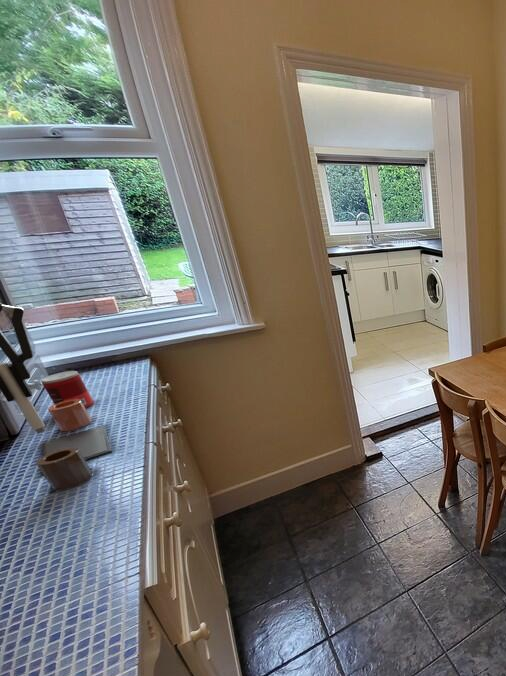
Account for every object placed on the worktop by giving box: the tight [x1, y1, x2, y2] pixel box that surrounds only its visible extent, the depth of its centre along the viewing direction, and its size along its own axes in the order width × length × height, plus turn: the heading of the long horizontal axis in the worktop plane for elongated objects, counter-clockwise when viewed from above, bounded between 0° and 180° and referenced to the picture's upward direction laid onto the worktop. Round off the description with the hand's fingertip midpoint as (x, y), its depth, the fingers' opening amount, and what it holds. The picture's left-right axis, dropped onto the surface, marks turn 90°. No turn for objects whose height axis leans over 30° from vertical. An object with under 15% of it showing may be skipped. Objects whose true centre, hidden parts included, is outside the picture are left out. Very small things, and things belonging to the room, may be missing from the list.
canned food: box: [40, 370, 94, 409], centre depth 123 cm, size 8×8×11 cm
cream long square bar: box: [0, 362, 46, 434], centre depth 82 cm, size 2×2×15 cm
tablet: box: [40, 424, 113, 477], centre depth 103 cm, size 20×12×1 cm, turn 47°
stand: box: [35, 447, 94, 491], centre depth 89 cm, size 6×6×7 cm
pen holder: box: [47, 399, 93, 432], centre depth 113 cm, size 6×6×7 cm
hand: (20, 397), depth 81 cm, fingers closed on cream long square bar, 2 cm apart
